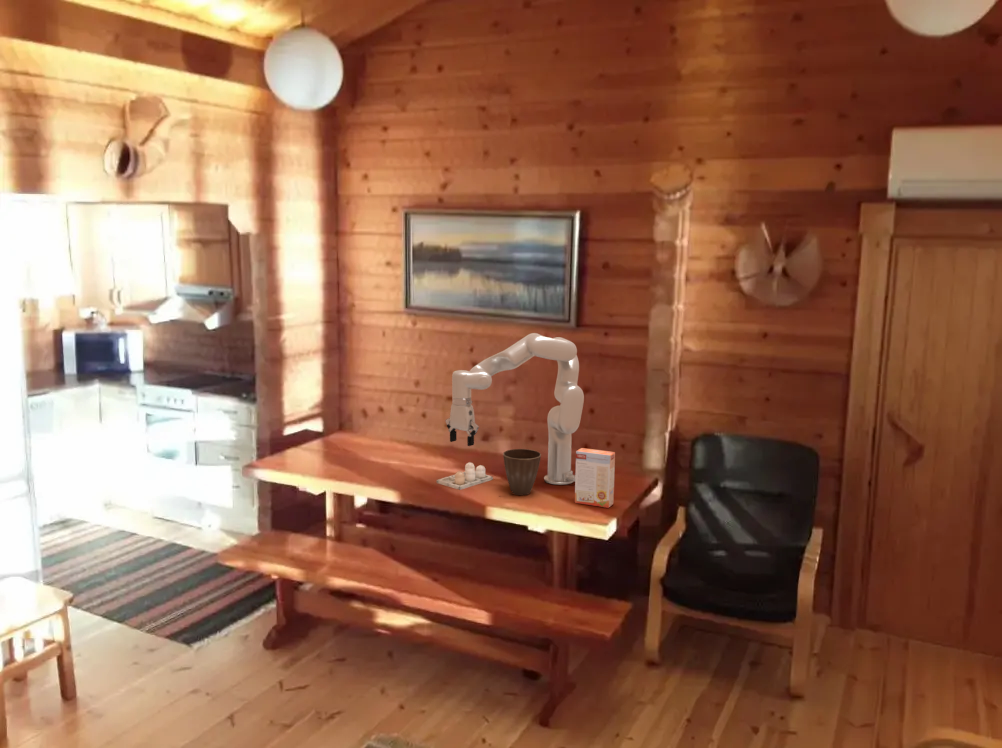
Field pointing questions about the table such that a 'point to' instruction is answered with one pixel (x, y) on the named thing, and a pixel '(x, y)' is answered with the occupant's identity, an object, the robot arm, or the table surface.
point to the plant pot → (521, 469)
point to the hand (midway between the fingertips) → (461, 443)
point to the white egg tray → (451, 481)
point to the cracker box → (594, 477)
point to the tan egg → (459, 478)
